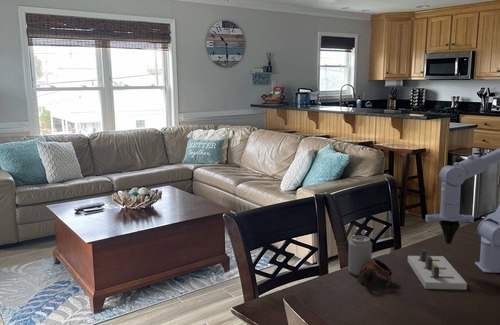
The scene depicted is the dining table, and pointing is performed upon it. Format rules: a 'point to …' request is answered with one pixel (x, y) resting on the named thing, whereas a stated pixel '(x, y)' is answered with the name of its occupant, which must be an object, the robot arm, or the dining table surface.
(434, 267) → the handle
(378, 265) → the pottery mug
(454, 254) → the dining table surface
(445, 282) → the breaker panel
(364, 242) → the can
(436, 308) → the dining table surface
